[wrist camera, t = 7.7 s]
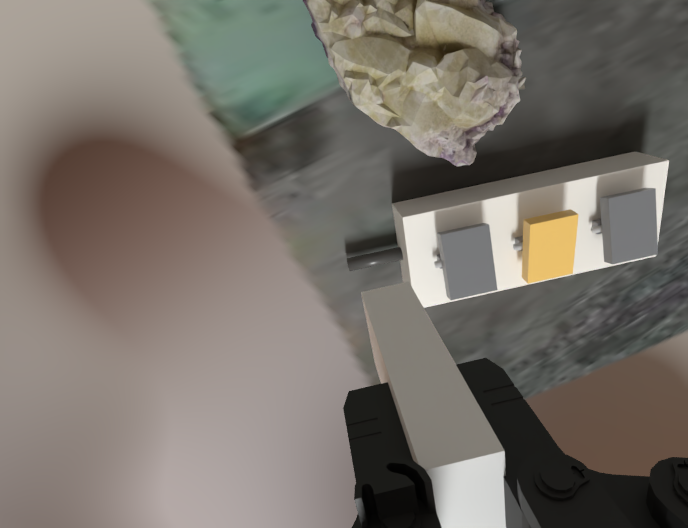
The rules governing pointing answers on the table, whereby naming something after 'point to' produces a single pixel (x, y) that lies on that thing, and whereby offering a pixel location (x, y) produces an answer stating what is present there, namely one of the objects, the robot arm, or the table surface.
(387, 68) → the geode
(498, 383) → the robot arm
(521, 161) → the table surface
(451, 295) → the block
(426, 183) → the table surface
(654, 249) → the block
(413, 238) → the white rocker switch box
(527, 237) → the amber rocker
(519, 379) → the table surface
